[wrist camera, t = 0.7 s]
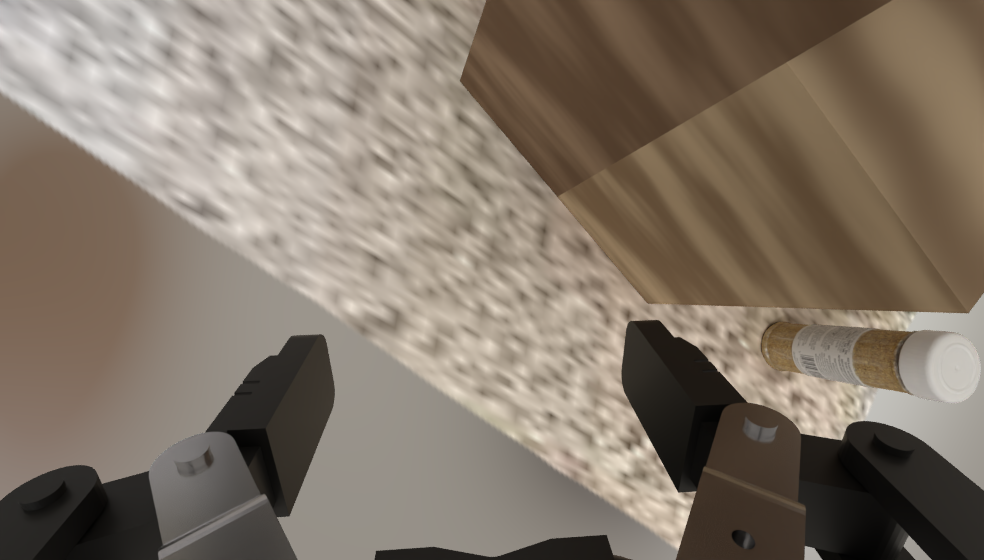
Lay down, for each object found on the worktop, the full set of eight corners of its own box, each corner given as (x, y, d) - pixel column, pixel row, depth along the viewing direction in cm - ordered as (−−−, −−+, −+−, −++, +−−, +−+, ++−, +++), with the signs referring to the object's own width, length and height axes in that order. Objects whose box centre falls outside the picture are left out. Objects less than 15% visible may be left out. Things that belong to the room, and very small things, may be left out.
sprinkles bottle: (805, 359, 42) (993, 388, 29) (767, 378, 41) (944, 416, 28) (790, 313, 42) (972, 321, 29) (751, 331, 41) (922, 348, 28)
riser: (647, 303, 39) (1717, 336, 8) (460, 80, 36) (946, -1395, 5) (767, 178, 42) (1870, -164, 11) (603, -36, 39) (1474, -1378, 8)
